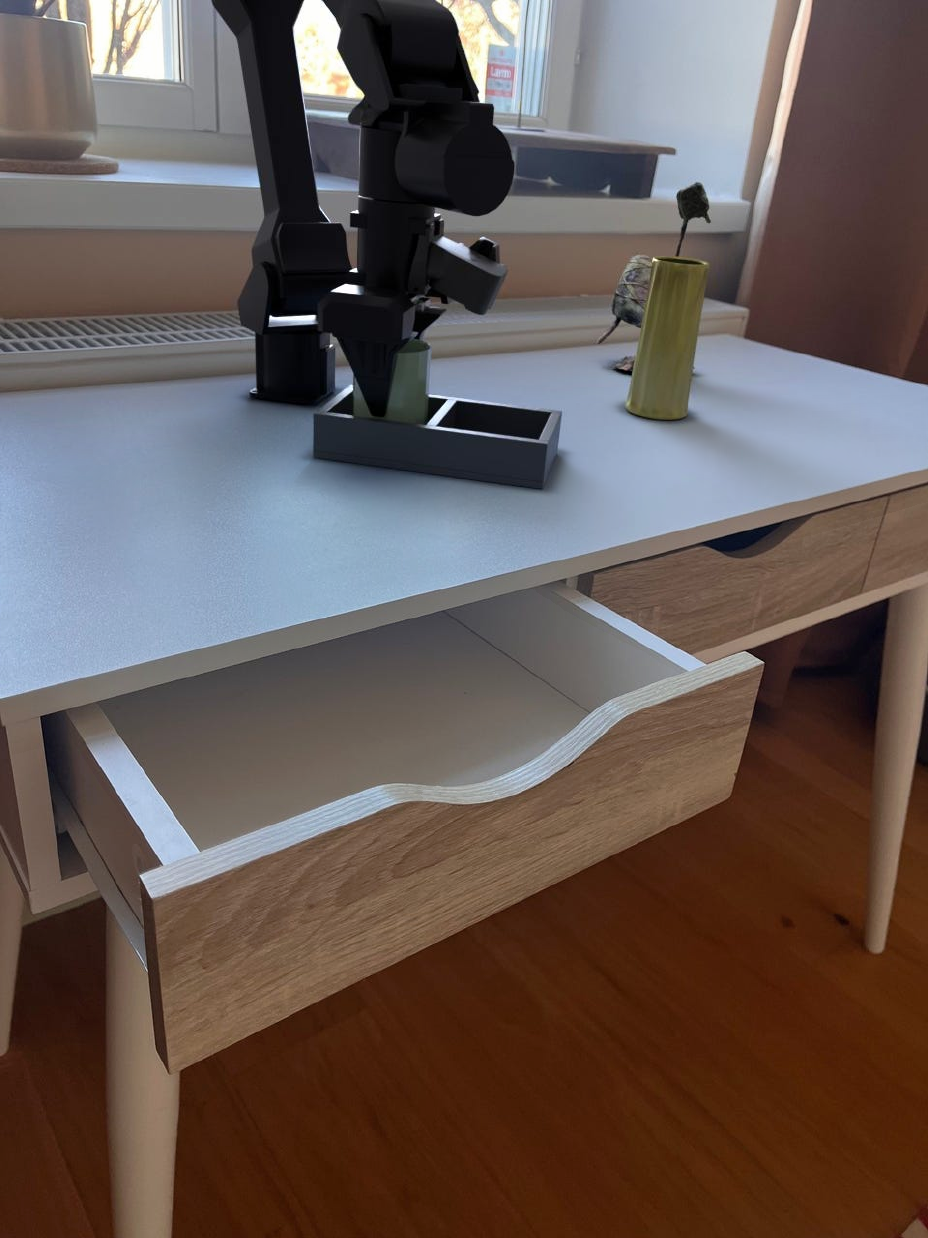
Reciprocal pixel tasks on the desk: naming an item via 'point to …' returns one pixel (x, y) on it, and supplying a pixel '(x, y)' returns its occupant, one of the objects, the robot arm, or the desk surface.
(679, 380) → the vase
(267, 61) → the robot arm
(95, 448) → the desk surface
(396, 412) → the cup
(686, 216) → the plant with pod
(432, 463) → the holder
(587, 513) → the desk surface
